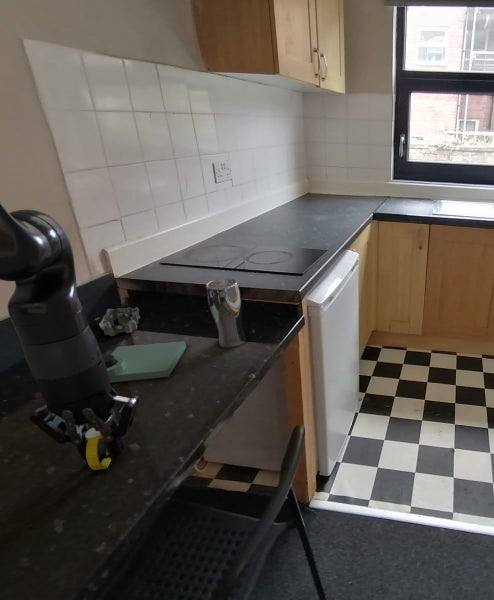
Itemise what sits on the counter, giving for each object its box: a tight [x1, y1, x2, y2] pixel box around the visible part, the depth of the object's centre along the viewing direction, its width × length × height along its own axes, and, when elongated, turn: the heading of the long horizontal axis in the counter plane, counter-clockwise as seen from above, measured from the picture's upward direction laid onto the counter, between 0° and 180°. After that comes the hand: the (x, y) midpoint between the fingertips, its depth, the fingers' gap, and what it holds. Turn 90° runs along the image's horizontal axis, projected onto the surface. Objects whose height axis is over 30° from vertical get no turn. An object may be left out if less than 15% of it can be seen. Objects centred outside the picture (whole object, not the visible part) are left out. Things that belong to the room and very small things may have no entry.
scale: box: [107, 341, 187, 383], centre depth 85 cm, size 14×13×4 cm
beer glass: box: [205, 277, 247, 348], centre depth 92 cm, size 7×7×15 cm
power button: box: [102, 354, 116, 368], centre depth 80 cm, size 3×3×2 cm
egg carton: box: [98, 306, 141, 337], centre depth 102 cm, size 11×8×4 cm
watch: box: [85, 427, 112, 471], centre depth 61 cm, size 6×3×6 cm, turn 12°
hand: (105, 456), depth 62 cm, fingers closed on watch, 2 cm apart
